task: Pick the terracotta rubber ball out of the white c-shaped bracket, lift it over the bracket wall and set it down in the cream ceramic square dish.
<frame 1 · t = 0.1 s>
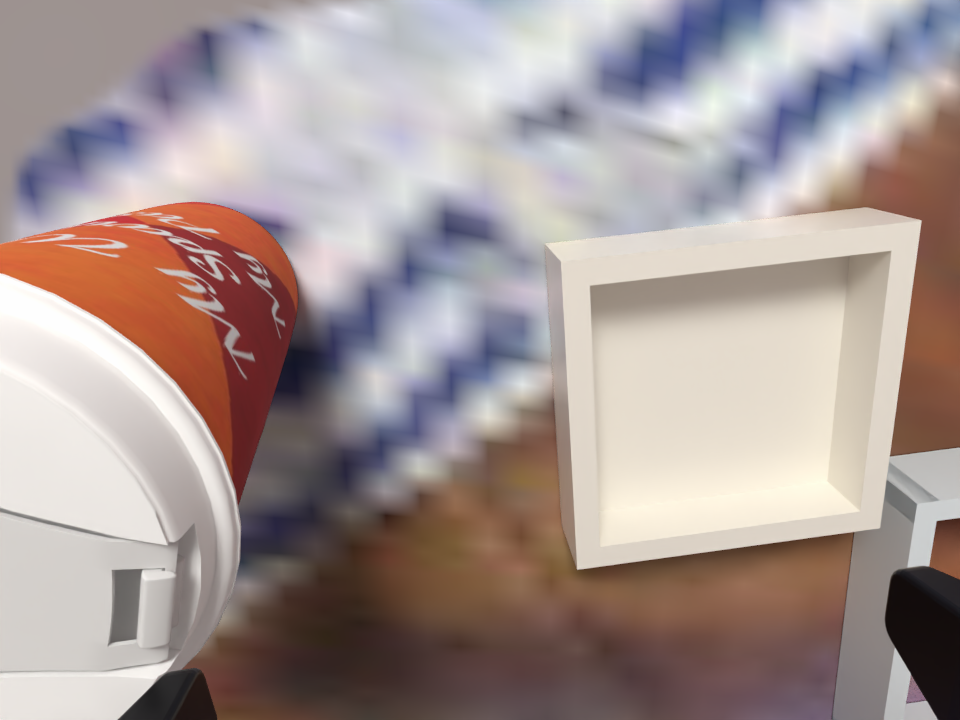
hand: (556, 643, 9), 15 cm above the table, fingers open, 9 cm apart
paper cup: (207, 289, 22), on the table
dish: (703, 377, 24), on the table
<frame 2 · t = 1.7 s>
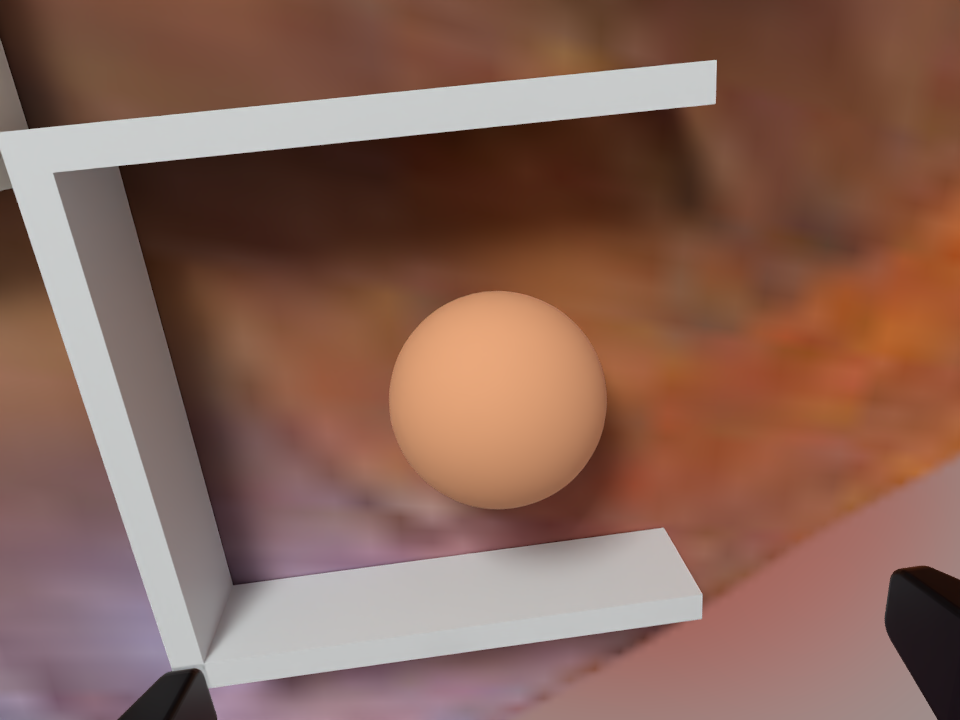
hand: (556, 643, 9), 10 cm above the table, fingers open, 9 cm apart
white c-shaped bracket: (411, 370, 18), on the table
ball: (487, 361, 18), on the table
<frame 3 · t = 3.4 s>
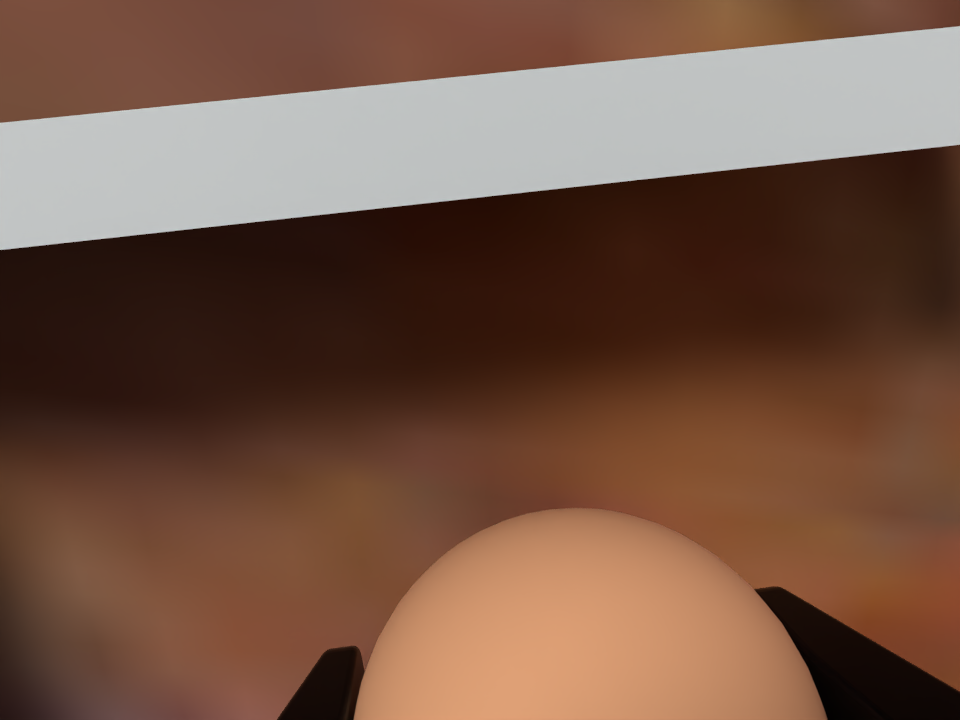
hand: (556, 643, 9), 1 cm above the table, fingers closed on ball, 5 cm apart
white c-shaped bracket: (403, 610, 10), on the table
ball: (543, 590, 10), on the table, touching gripper
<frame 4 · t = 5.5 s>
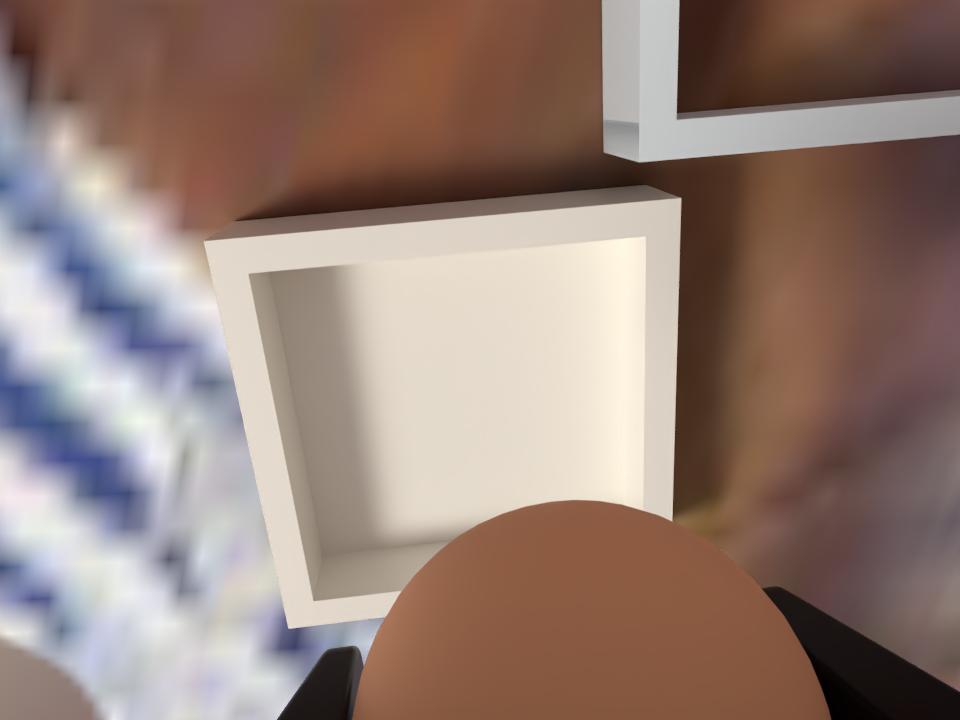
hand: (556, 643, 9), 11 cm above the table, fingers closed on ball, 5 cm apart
ball: (543, 584, 10), point 10 cm above the table, touching gripper
dish: (460, 392, 20), on the table
when the fingers open (3 cm above the table, at t = 7.6 s): ball drops 1 cm, resting on dish.
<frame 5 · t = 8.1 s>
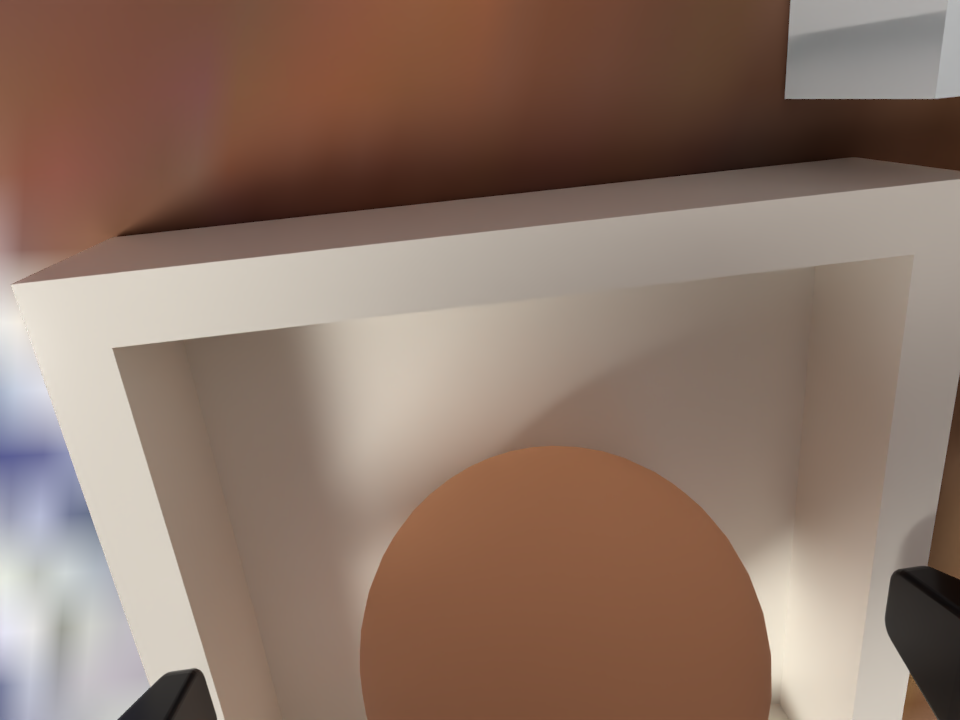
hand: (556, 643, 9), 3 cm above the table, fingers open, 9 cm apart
ball: (527, 529, 11), point 1 cm above the table, touching dish
dish: (520, 513, 12), on the table
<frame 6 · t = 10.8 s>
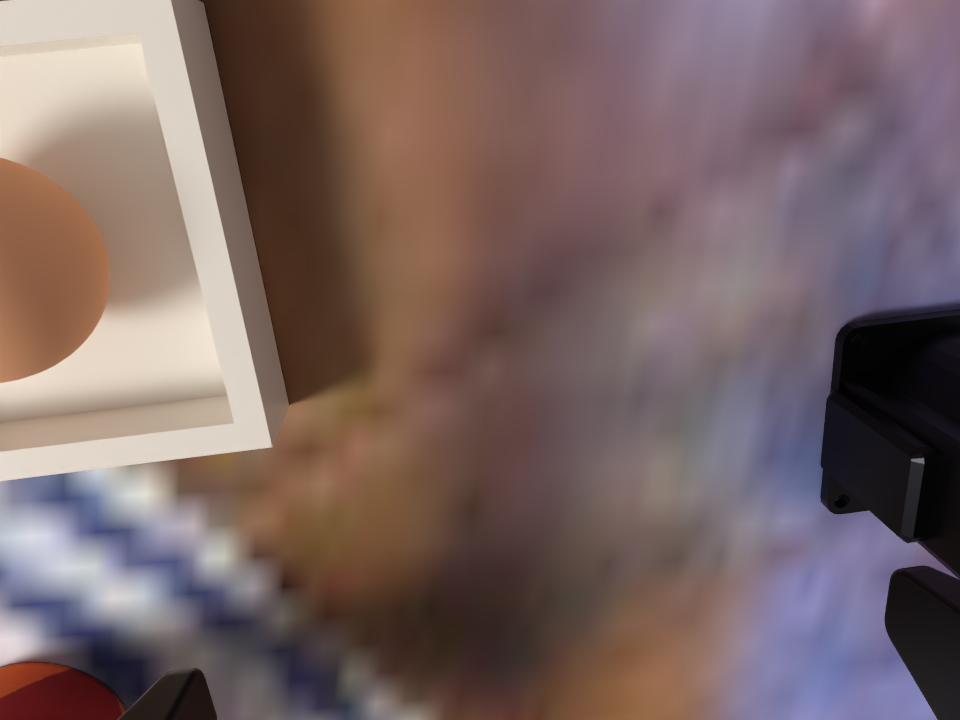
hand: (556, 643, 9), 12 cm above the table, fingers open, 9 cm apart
ball: (35, 248, 18), point 1 cm above the table, touching dish
dish: (46, 247, 18), on the table
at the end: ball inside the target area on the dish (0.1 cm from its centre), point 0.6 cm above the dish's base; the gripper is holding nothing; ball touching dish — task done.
